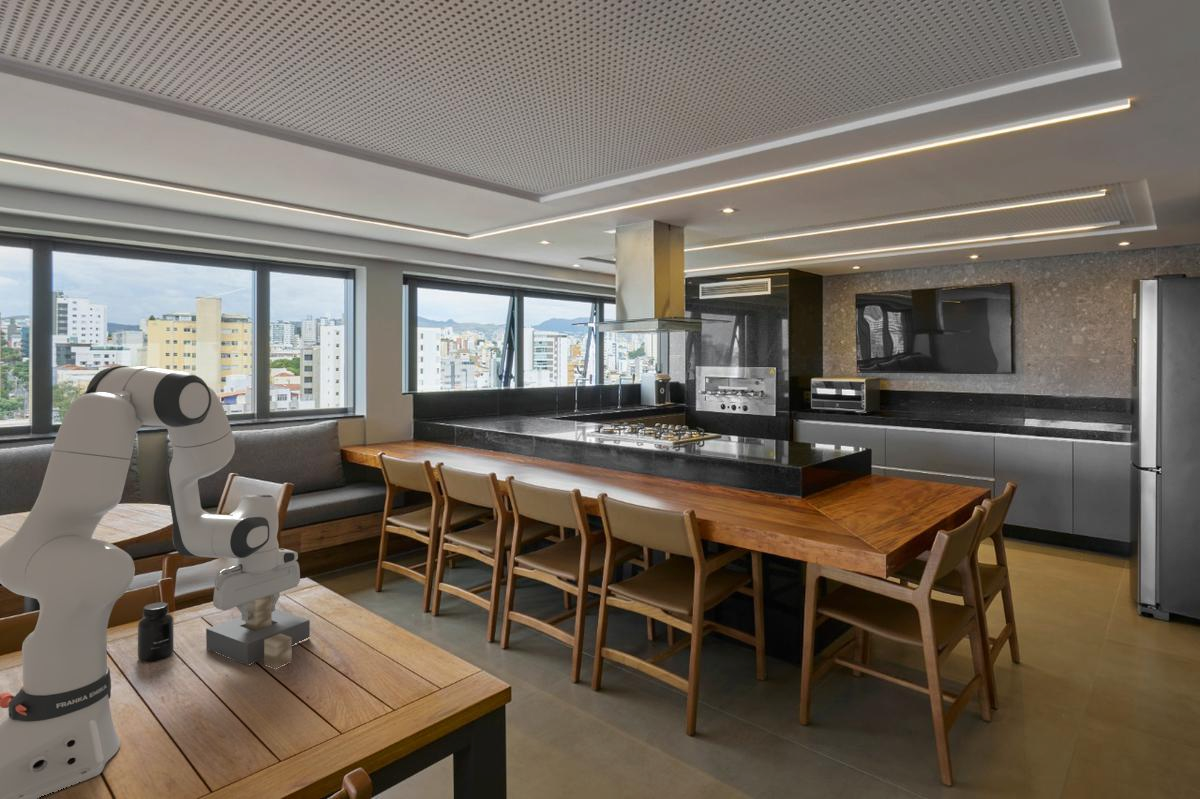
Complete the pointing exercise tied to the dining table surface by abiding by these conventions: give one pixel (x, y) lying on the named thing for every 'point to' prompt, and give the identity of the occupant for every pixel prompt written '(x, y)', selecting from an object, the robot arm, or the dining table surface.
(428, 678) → the dining table surface
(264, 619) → the tall pin
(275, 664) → the short pin
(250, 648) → the socket block
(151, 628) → the supplement bottle
